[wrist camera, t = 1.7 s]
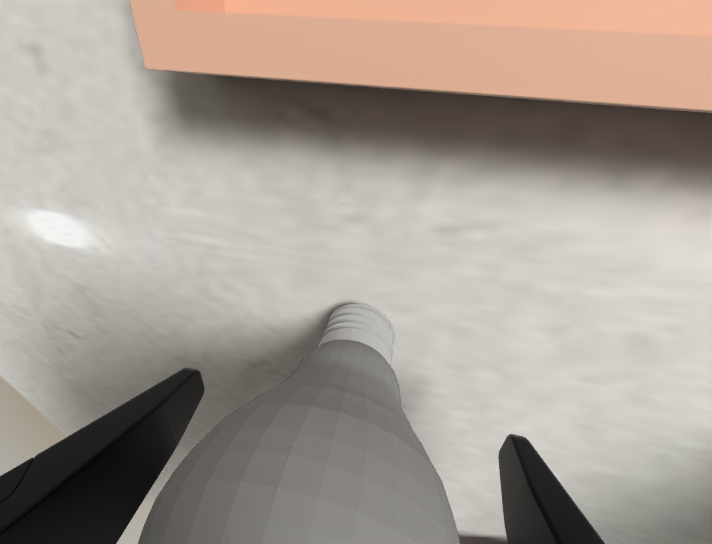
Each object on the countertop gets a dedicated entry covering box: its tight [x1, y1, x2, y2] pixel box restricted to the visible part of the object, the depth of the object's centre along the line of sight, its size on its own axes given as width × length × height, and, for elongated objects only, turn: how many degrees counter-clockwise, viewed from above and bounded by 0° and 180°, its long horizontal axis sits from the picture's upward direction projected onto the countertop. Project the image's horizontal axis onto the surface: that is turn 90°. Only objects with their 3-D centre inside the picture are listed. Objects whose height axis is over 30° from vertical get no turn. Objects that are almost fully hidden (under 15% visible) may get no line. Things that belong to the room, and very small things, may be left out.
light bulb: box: [138, 304, 460, 544], centre depth 8 cm, size 6×6×10 cm
